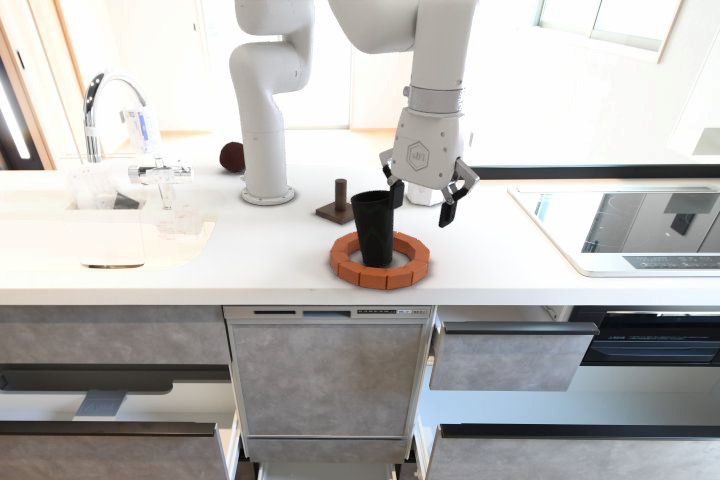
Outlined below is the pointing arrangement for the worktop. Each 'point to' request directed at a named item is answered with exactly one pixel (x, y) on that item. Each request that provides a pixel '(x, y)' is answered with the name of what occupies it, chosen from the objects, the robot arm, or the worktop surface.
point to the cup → (374, 226)
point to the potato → (232, 157)
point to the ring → (376, 275)
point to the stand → (338, 205)
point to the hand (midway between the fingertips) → (419, 216)
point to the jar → (423, 195)
